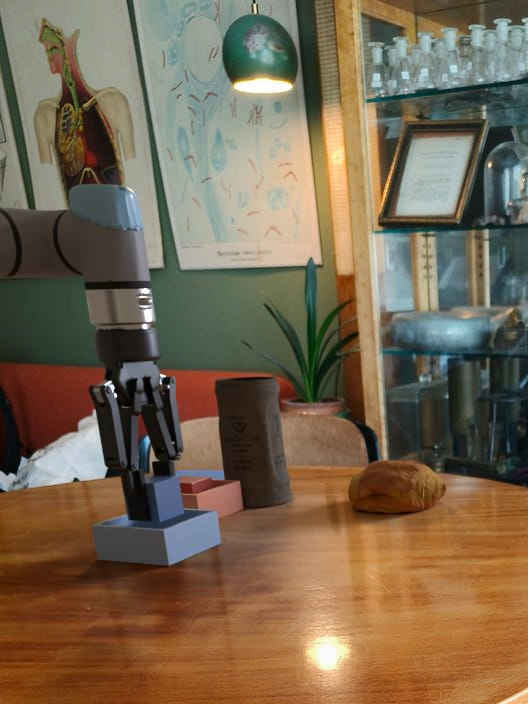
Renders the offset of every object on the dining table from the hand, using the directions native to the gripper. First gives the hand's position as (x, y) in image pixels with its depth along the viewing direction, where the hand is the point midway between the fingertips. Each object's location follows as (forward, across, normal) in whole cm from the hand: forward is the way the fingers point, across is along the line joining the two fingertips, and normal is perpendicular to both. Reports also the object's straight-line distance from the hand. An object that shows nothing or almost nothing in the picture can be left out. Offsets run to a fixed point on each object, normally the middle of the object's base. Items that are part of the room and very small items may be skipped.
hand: (155, 514), depth 116 cm
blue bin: (+5, 0, 0) cm, 5 cm away
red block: (+4, +19, +9) cm, 21 cm away
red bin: (+5, +19, +9) cm, 22 cm away
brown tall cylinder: (+5, +33, +5) cm, 34 cm away
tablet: (+5, +43, +21) cm, 48 cm away
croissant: (+5, +33, -19) cm, 38 cm away
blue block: (0, 0, 0) cm, 0 cm away
